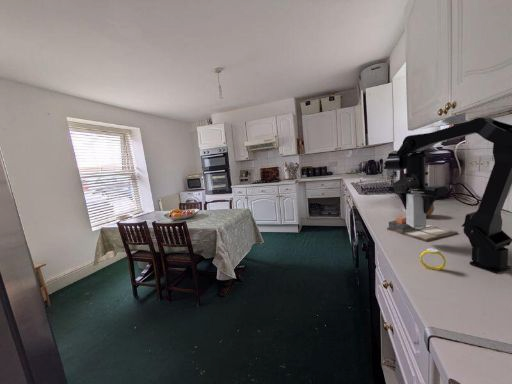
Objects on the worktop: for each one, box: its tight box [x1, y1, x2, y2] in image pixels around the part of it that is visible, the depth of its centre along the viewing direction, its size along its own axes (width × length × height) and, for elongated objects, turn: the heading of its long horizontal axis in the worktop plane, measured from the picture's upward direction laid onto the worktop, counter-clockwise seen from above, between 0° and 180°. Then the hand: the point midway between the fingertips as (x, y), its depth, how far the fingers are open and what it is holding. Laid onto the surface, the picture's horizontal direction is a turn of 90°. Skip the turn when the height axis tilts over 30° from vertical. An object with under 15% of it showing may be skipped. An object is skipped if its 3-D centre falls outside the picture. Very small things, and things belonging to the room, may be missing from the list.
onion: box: [426, 203, 435, 218], centre depth 116 cm, size 10×10×10 cm
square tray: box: [386, 219, 459, 243], centre depth 96 cm, size 18×17×4 cm
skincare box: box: [405, 192, 427, 228], centre depth 83 cm, size 6×4×12 cm
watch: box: [419, 247, 447, 271], centre depth 67 cm, size 6×3×6 cm, turn 53°
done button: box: [395, 216, 406, 224], centre depth 99 cm, size 3×3×3 cm
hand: (415, 211), depth 83 cm, fingers closed on skincare box, 7 cm apart
